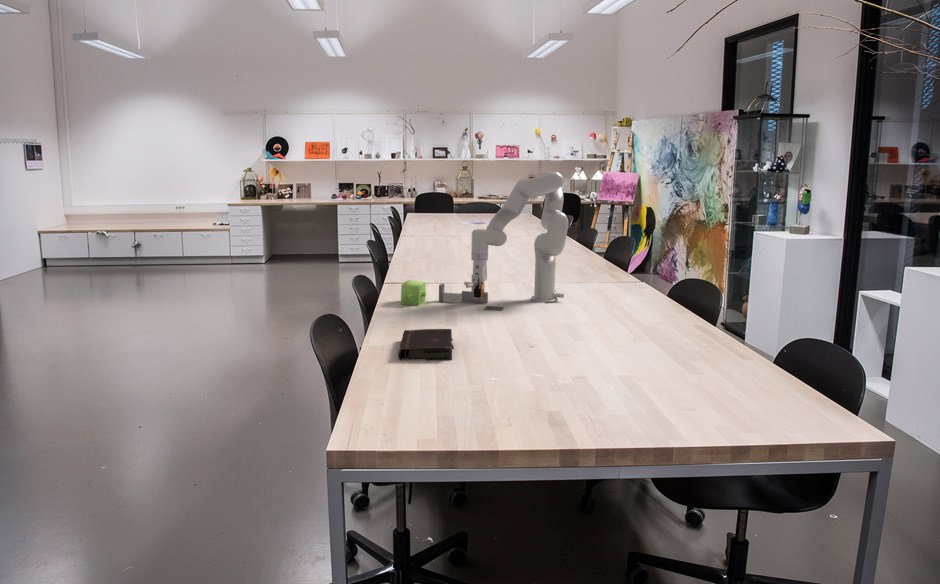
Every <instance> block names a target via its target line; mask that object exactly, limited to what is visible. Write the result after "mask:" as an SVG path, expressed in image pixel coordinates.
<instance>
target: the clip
mask: <svg viewBox="0 0 940 584" xmlns="http://www.w3.org/2000/svg"><path fill="white" fill-rule="evenodd" d="M478 284H479V283H478ZM485 286H486V285H485V282H484V283H481V287H480V289H481V297H480V298H478V297H474V285H473V298H474V299H482V292H485Z"/></svg>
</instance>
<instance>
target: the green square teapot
mask: <svg viewBox="0 0 940 584" xmlns="http://www.w3.org/2000/svg"><path fill="white" fill-rule="evenodd" d="M426 283H427V282H425V281H418V280H410V279H409V280H407V281H405V282H404V283H402V284H401V289H400V292H401V293H400V304H401V305H404V306H405V305H407V306H420V305H421V304H423V303H425V301H426V296H427V291H426V289H427V288H426V287H427V286H426Z"/></svg>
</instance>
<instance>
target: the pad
mask: <svg viewBox="0 0 940 584" xmlns="http://www.w3.org/2000/svg"><path fill="white" fill-rule="evenodd" d="M504 308H505V306H493V305H486V306H485V307H484V308H483V309H482V310H483V311H494V312H495V311H499V312H502V311H503V309H504Z"/></svg>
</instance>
